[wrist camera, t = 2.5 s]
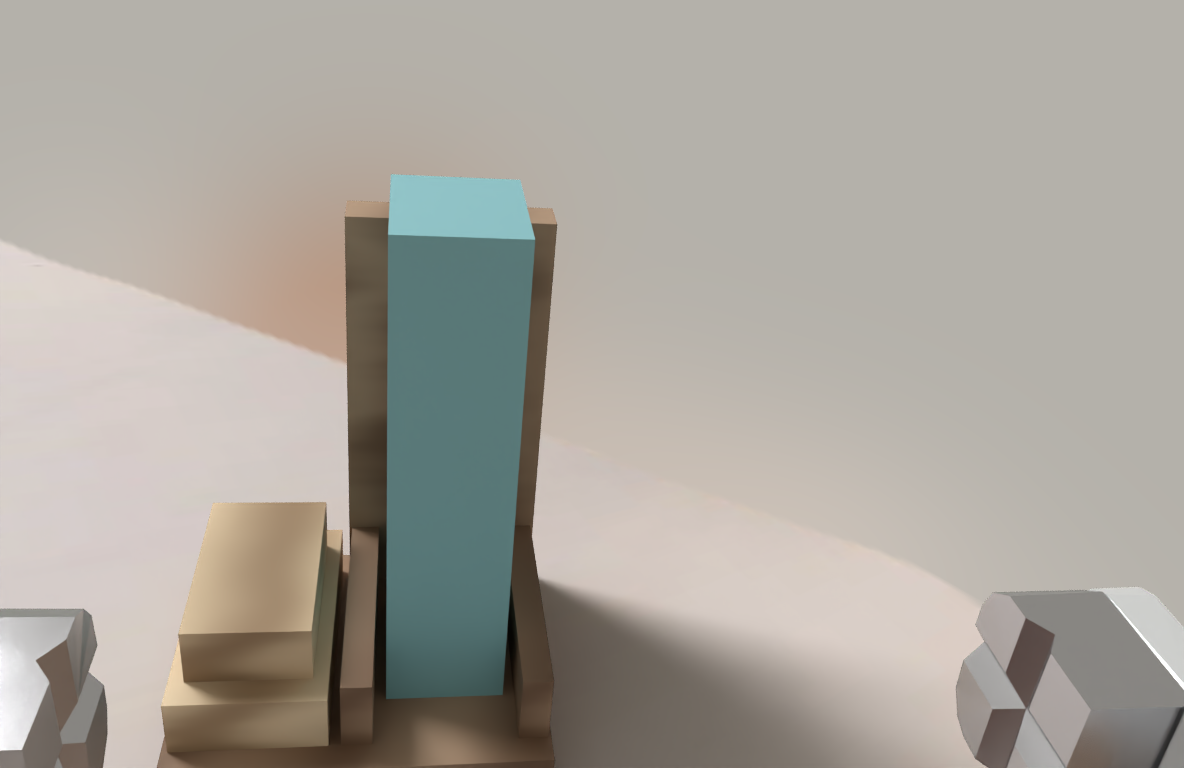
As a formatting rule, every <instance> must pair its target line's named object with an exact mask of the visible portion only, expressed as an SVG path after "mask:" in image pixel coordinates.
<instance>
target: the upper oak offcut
mask: <svg viewBox="0 0 1184 768" xmlns="http://www.w3.org/2000/svg"><path fill="white" fill-rule="evenodd" d="M326 554H327V515H326V502H303V503H213V505H212V509H211V513H210V517H209V520H208V524H207V528H206V532H205V535H204V539H203V543H202V547H201V551H200V554H199V558H198V562H197V566H196V569H195V573H194V577H193V581H192V585H191V588H190V592H189V596H188V600H187V603H186V607H185V611H184V615H183V618H182V622H181V626H180V630H179V634H178V636H179V645H180V654H181V663H182V672H183V680H184V682H215V681H248V680H281V679H313V676H314V666H315V657H316V648H317V638H318V629H319V620H320V610H321V601H322V591H323V582H324V573H325V563H326Z"/></svg>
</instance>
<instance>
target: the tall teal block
mask: <svg viewBox="0 0 1184 768" xmlns="http://www.w3.org/2000/svg"><path fill="white" fill-rule="evenodd" d="M534 250H535V237H534V233H533V229H532V225H531V221H530V217H529V213H528V209H527V205H526V201H525V197H524V193H523V190H522V186H521V182H520V180H508V179H485V178H461V177H439V176H415V175H392V174H391V185H390V205H389V226H388V363H387V597H386V699H402V698H431V697H460V696H490V695H503V682H504V668H505V654H506V640H507V626H508V612H509V599H510V585H511V571H512V557H513V543H514V529H515V515H516V501H517V487H518V473H519V459H520V445H521V431H522V418H523V404H524V390H525V376H526V362H527V348H528V334H529V320H530V306H531V292H532V278H533V264H534Z"/></svg>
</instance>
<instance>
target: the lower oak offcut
mask: <svg viewBox="0 0 1184 768" xmlns="http://www.w3.org/2000/svg"><path fill="white" fill-rule="evenodd" d="M342 579H343V538H342V530H327V554H326V563H325V573H324V582H323V591H322V601H321V610H320V620H319V629H318V638H317V648H316V657H315V666H314V676H313V679H281V680H248V681H215V682H184V680H183V672H182V663H181V654H180V645H179V640H178V644H177V648H176V651H175V655H174V659H173V663H172V667H171V670H170V674H169V678H168V682H167V686H166V689H165V693H164V697H163V701H162V705H161V710H162V717H163V725H164V733H165V741H166V749H167V752H192V751H217V750H241V749H266V748H291V747H315V746H328V745H329V733H330V721H331V709H332V697H333V685H334V674H335V662H336V650H337V638H338V626H339V614H340V602H341V590H342Z"/></svg>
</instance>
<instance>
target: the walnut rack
mask: <svg viewBox="0 0 1184 768" xmlns="http://www.w3.org/2000/svg"><path fill="white" fill-rule="evenodd" d="M389 205H390V202H370V201H369V202H368V201H347V205H346V212H345V259H346V260H345V261H346V321H347V322H346V324H347V325H346V326H347V391H348V456H349V521H350V555H343V579H342V590H341V602H340V614H339V626H338V638H337V650H336V662H335V674H334V685H333V697H332V709H331V721H330V733H329V745H328V746H315V747H291V748H266V749H241V750H217V751H192V752H167V749H166V741H165V737H164V741H163V745H162V749H161V753H160V757H159V761H158V765H157V768H554V761H555V759H554V752H553V745H552V738H551V731H550V716H551V706H552V696H553V687H554V678H553V672H552V665H551V659H550V652H549V645H548V639H547V632H546V626H545V619H544V613H543V606H542V600H541V593H540V587H539V580H538V574H537V567H536V561H535V554H534V547H533V541H532V528H533V515H534V503H535V491H536V478H537V466H538V454H539V441H540V429H541V417H542V405H543V392H544V380H545V368H546V355H547V343H548V331H549V318H550V306H551V294H552V282H553V269H554V257H555V244H556V231H557V222H556V219H555V216H554V212H553V210H552V209H550V208H527V209H528V213H529V217H530V221H531V225H532V229H533V233H534V237H535V250H534V264H533V278H532V292H531V306H530V320H529V334H528V348H527V362H526V376H525V390H524V404H523V418H522V431H521V445H520V459H519V473H518V487H517V501H516V515H515V529H514V543H513V557H512V571H511V585H510V599H509V612H508V626H507V640H506V654H505V668H504V682H503V695H490V696H460V697H431V698H402V699H386V597H387V363H388V226H389Z"/></svg>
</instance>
